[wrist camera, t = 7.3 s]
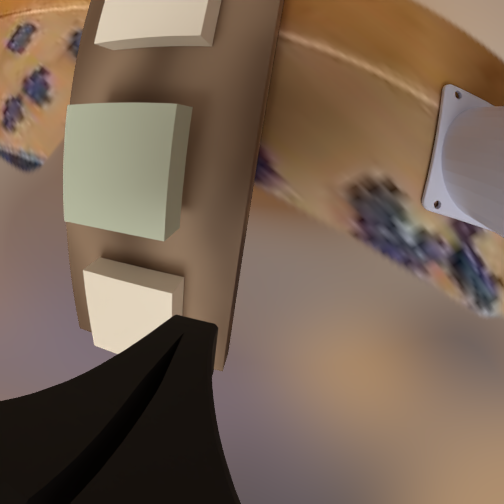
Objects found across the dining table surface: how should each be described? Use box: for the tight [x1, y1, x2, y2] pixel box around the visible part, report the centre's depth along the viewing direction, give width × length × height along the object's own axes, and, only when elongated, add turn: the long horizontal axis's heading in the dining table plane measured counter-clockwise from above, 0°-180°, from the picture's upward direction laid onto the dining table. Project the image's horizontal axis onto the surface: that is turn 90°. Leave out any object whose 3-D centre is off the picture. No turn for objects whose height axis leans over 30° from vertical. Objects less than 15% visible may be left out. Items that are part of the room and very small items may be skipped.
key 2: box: [83, 257, 184, 354], centre depth 18 cm, size 6×6×2 cm
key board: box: [66, 0, 284, 371], centre depth 16 cm, size 12×27×2 cm, turn 171°
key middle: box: [63, 103, 193, 241], centre depth 13 cm, size 6×6×2 cm
